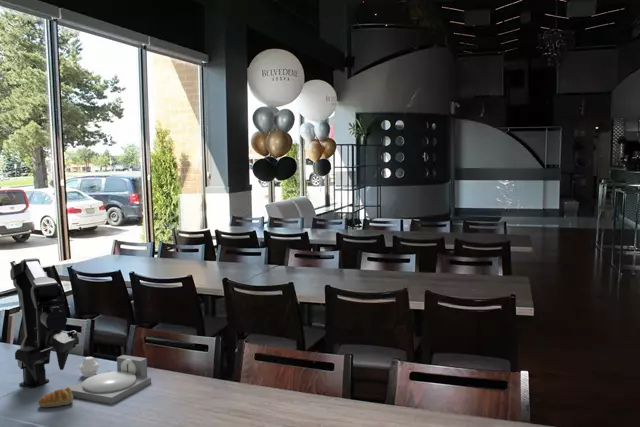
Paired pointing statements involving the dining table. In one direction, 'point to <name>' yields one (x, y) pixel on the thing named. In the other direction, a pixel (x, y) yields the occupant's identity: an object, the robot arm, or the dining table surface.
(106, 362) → the dining table surface
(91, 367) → the garlic bulb
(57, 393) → the pastry
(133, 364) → the scale
